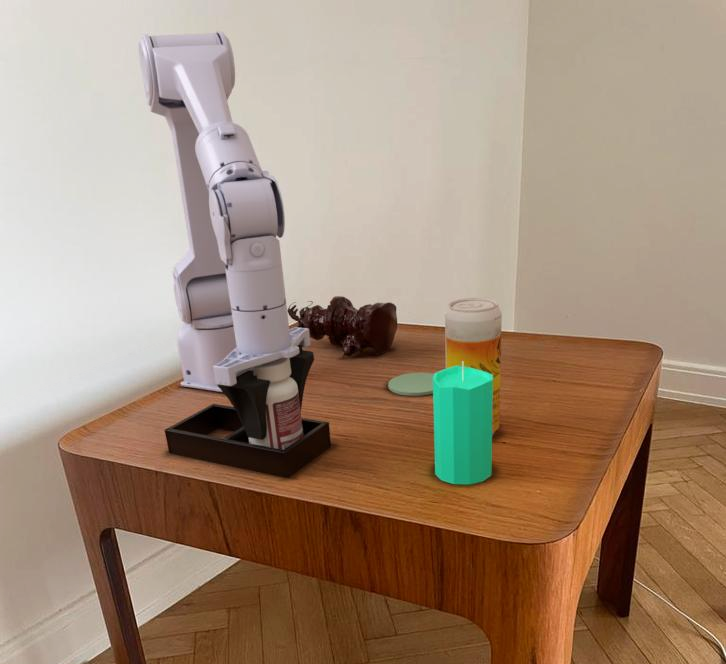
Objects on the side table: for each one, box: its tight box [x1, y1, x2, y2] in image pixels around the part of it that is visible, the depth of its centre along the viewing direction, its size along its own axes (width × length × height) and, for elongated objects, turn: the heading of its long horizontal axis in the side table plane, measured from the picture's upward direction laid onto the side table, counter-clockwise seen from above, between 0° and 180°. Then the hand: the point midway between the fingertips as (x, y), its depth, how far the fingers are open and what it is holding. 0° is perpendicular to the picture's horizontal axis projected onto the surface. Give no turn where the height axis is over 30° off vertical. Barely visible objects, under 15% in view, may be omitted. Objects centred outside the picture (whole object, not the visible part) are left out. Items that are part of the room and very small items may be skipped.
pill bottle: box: [248, 358, 303, 450], centre depth 82 cm, size 6×6×11 cm
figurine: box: [287, 295, 398, 359], centre depth 118 cm, size 10×10×18 cm
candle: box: [432, 361, 493, 485], centre depth 75 cm, size 6×6×12 cm
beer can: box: [444, 297, 503, 436], centre depth 84 cm, size 6×6×15 cm
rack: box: [164, 403, 332, 479], centre depth 86 cm, size 17×9×3 cm, turn 61°
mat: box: [387, 372, 434, 397], centre depth 102 cm, size 8×8×1 cm
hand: (274, 426), depth 83 cm, fingers closed on pill bottle, 6 cm apart
